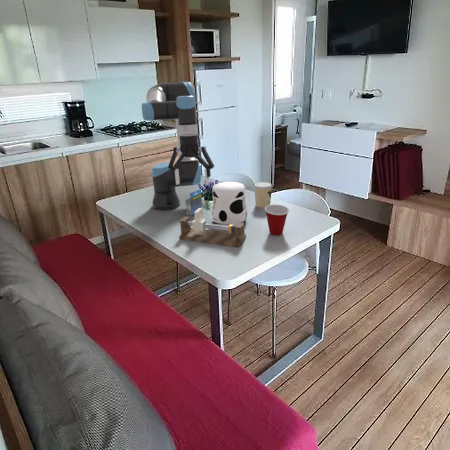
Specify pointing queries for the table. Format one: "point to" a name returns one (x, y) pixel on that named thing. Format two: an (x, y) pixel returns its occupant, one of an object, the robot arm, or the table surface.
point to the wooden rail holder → (212, 235)
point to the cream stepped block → (198, 220)
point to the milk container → (229, 203)
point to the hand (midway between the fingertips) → (192, 184)
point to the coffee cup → (262, 194)
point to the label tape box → (193, 202)
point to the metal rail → (218, 226)
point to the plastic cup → (276, 218)
